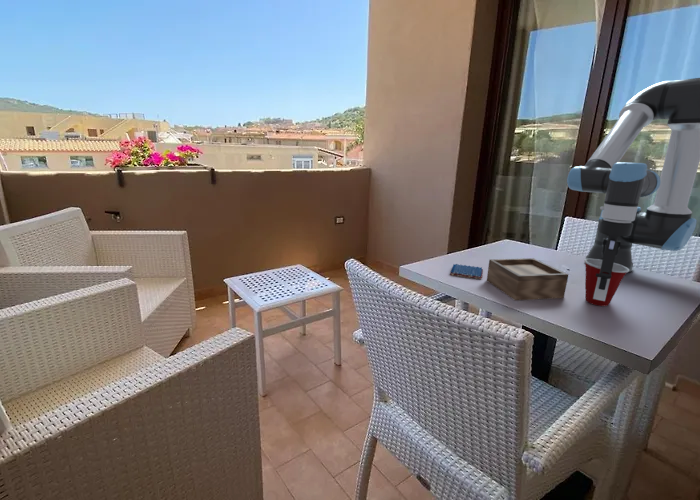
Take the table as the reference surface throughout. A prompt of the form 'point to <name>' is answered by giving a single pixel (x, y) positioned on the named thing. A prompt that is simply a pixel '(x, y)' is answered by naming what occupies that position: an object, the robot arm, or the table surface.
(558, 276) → the open wooden box
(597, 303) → the plastic cup
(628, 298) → the table surface
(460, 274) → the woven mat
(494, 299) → the table surface
